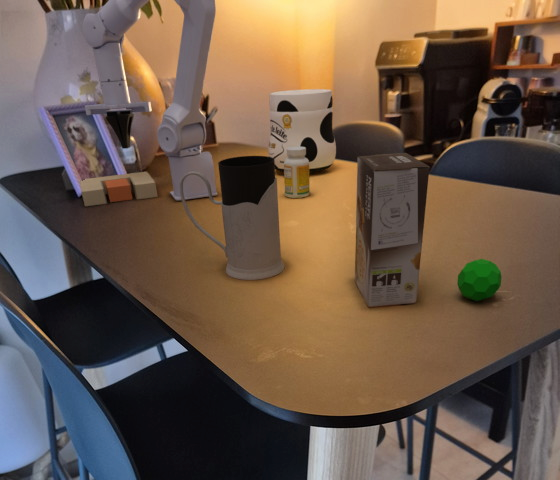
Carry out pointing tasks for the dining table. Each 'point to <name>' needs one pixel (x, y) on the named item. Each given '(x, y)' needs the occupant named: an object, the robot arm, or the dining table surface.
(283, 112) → the milk container
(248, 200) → the glass holder
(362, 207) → the coffee box
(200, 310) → the dining table surface
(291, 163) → the supplement bottle
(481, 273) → the polyhedron
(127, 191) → the terracotta block
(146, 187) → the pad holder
